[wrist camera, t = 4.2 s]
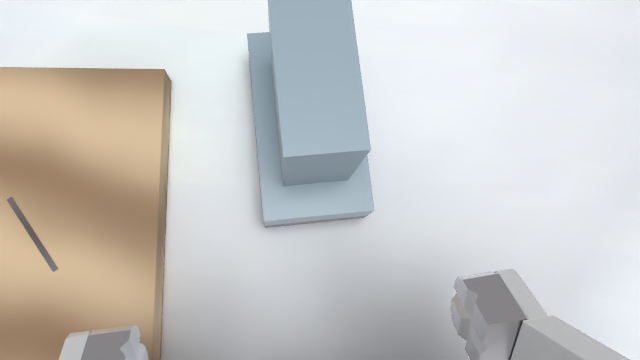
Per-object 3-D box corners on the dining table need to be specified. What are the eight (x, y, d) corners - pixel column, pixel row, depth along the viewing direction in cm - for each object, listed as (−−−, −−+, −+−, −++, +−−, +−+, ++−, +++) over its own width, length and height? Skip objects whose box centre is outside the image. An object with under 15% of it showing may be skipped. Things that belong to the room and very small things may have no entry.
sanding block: (363, 217, 25) (405, 190, 16) (265, 227, 24) (257, 204, 16) (342, 55, 26) (371, -47, 18) (251, 60, 26) (236, -41, 17)
